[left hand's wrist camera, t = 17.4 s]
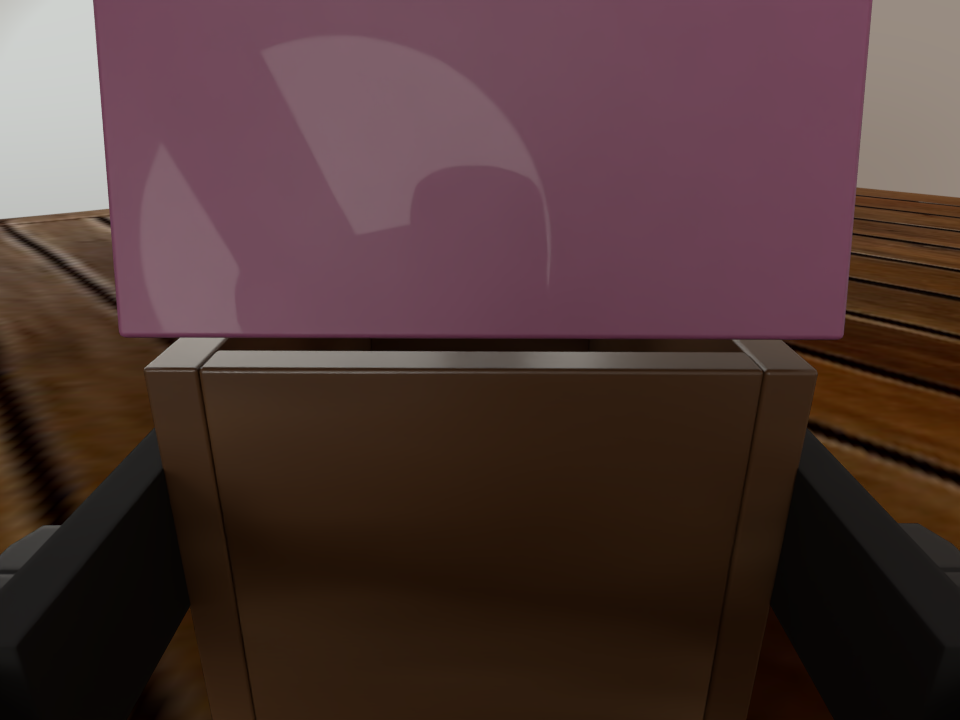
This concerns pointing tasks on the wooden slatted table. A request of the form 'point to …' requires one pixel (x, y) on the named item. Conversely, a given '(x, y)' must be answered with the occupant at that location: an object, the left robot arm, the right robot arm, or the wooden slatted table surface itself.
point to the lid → (482, 167)
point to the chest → (479, 522)
